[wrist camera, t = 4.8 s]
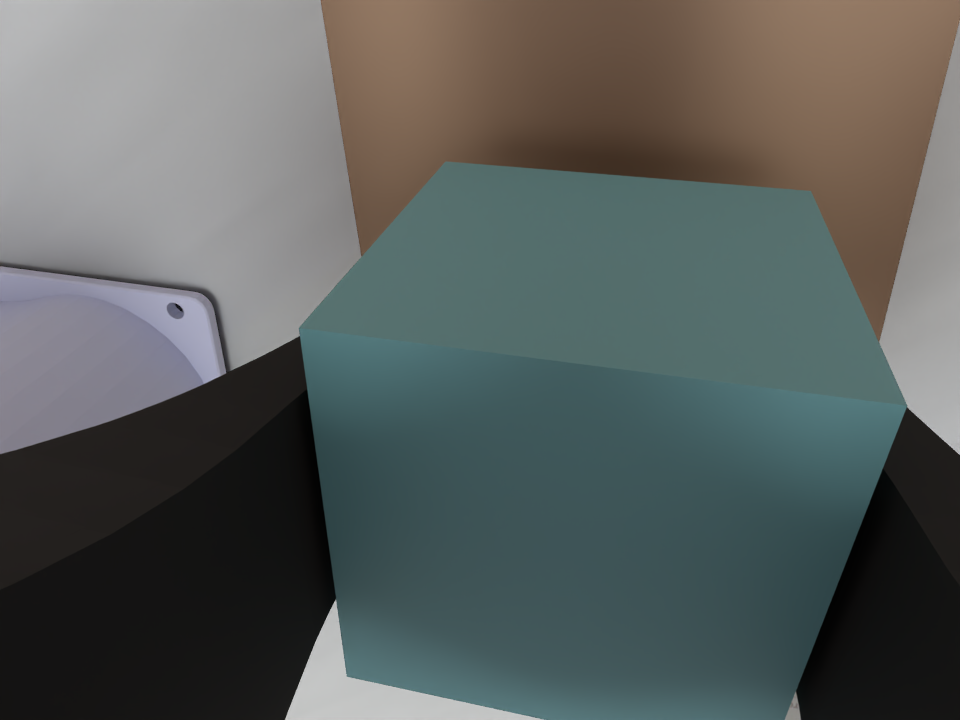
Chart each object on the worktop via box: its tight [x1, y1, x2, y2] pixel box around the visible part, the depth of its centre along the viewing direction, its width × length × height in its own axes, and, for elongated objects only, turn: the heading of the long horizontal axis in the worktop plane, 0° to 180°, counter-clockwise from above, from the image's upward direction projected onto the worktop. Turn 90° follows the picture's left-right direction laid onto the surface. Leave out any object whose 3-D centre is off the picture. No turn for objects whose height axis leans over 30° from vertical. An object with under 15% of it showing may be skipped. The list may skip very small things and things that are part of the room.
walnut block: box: [321, 0, 960, 342], centre depth 15 cm, size 10×10×4 cm
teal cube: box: [299, 162, 907, 720], centre depth 10 cm, size 5×5×5 cm
